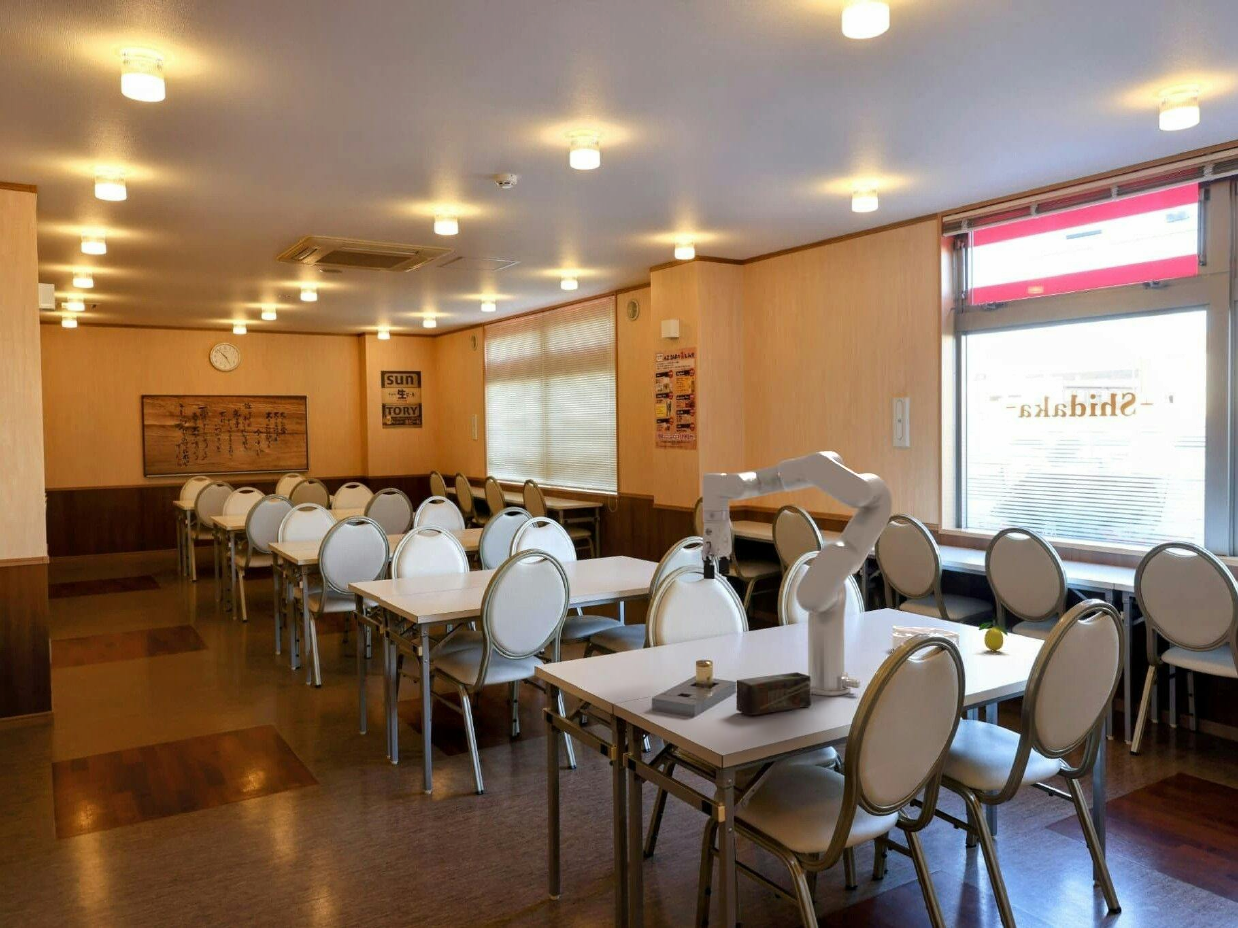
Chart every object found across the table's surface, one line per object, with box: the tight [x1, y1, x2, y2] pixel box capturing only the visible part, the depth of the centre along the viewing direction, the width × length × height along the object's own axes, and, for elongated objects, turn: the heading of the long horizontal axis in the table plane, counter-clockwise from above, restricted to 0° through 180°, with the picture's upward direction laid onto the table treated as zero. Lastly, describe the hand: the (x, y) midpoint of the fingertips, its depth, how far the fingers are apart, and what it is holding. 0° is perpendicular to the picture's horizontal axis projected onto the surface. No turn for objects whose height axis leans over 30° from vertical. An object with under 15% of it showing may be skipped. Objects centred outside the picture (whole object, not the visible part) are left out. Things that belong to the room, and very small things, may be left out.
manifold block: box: [651, 675, 737, 718], centre depth 236 cm, size 12×24×3 cm, turn 148°
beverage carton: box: [736, 672, 812, 716], centre depth 227 cm, size 8×19×7 cm
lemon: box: [978, 621, 1009, 653], centre depth 283 cm, size 7×6×10 cm
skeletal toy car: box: [892, 625, 960, 650], centre depth 282 cm, size 20×11×7 cm, turn 42°
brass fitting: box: [695, 659, 714, 689], centre depth 241 cm, size 4×4×9 cm
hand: (716, 576), depth 261 cm, fingers open, 9 cm apart
